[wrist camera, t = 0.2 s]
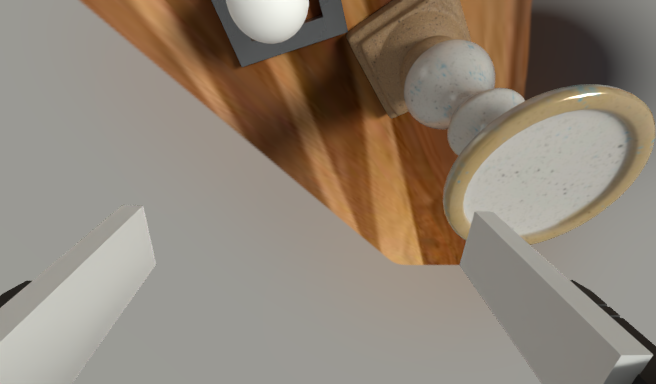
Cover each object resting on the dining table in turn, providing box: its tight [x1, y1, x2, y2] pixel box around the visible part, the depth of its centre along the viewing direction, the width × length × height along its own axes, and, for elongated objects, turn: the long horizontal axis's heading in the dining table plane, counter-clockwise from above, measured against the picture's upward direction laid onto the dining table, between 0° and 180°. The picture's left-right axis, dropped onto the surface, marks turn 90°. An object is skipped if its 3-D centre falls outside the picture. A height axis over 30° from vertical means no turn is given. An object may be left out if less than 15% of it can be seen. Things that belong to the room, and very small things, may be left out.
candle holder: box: [346, 0, 655, 245], centre depth 25 cm, size 11×11×24 cm
